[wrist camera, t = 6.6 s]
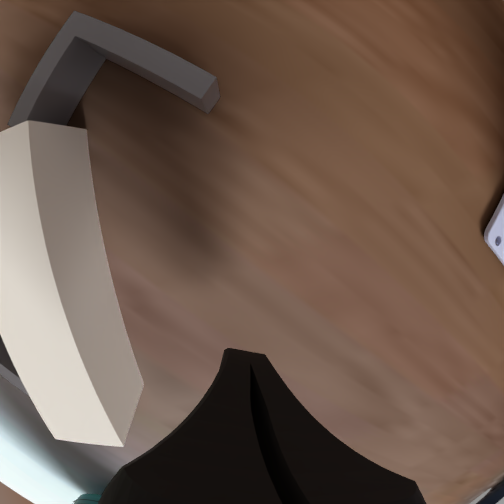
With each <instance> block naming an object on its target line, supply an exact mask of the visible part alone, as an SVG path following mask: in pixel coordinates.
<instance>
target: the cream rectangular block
mask: <svg viewBox="0 0 504 504" xmlns="http://www.w3.org/2000/svg"><path fill="white" fill-rule="evenodd" d="M0 335H1V337H2V340H3V342H4V344H5V347H6V349H7V351H8V354H9V356H10V358H11V360H12V362H13V364H14V367H15V369H16V371H17V373H18V375H19V377H20V379H21V381H22V383H23V385H24V387H25V389H26V390H27V392H28V394H29V396H30V398H31V400H32V401H33V403H34V405H35V407H36V409H37V410H38V412H39V414H40V415H41V417H42V419H43V420H44V422H45V424H46V425H47V427H48V429H49V430H50V432H51V433H52V435H53V436H54V438H55V439H58V440H64V441H71V442H79V443H87V444H96V445H107V446H120V447H124V444H125V441H126V438H127V435H128V432H129V428H130V425H131V422H132V419H133V416H134V413H135V410H136V407H137V404H138V401H139V398H140V395H141V392H142V389H143V386H144V383H143V380H142V377H141V374H140V371H139V368H138V366H137V363H136V360H135V357H134V354H133V351H132V348H131V345H130V341H129V338H128V335H127V332H126V328H125V325H124V322H123V318H122V315H121V311H120V308H119V304H118V300H117V297H116V293H115V289H114V285H113V281H112V277H111V273H110V269H109V265H108V260H107V256H106V251H105V247H104V242H103V237H102V232H101V227H100V222H99V216H98V211H97V205H96V199H95V193H94V186H93V180H92V172H91V165H90V157H89V148H88V138H87V129H82V128H76V127H70V126H64V125H58V124H51V123H44V122H37V121H30V120H28V121H25V122H23V123H20V124H18V125H15V126H13V127H11V128H8V129H6V130H4V131H2V132H0Z"/></svg>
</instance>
